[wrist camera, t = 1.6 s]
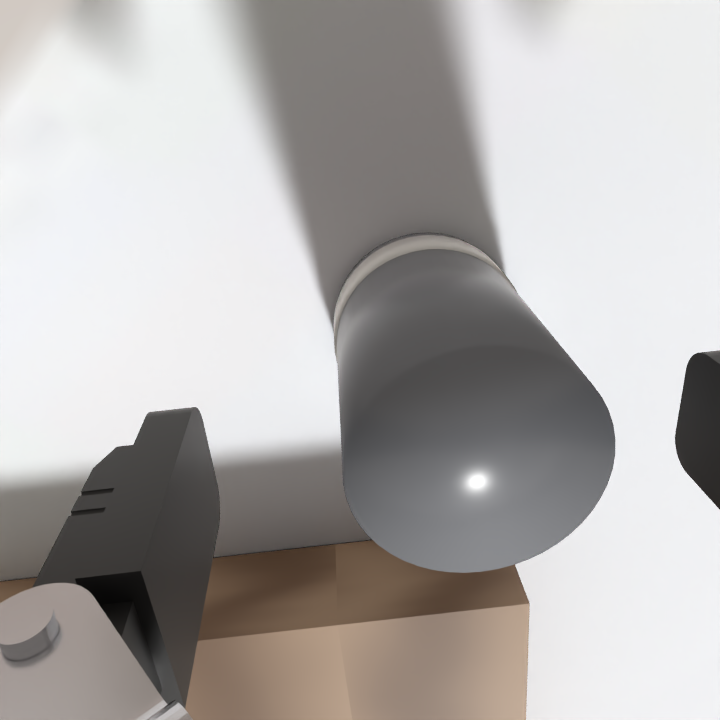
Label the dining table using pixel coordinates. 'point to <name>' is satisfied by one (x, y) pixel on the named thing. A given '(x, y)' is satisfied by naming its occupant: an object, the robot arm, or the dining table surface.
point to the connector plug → (460, 411)
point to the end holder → (355, 639)
